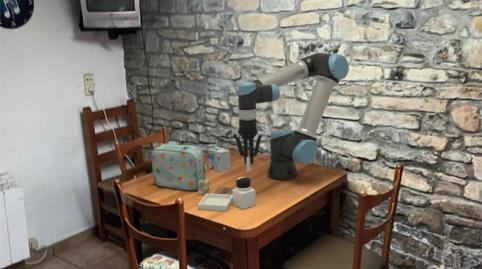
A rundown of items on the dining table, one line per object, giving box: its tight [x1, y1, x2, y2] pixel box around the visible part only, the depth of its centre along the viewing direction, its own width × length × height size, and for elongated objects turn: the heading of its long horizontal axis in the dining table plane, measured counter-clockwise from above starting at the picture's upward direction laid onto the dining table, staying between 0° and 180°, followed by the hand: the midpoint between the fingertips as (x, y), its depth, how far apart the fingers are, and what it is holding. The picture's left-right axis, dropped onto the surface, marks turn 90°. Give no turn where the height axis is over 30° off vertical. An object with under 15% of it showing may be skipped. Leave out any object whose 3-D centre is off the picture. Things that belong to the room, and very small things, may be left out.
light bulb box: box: [207, 146, 231, 173], centre depth 241 cm, size 11×7×11 cm, turn 42°
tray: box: [197, 192, 233, 212], centre depth 193 cm, size 13×13×2 cm
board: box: [213, 186, 236, 195], centre depth 204 cm, size 10×8×2 cm
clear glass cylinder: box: [197, 179, 210, 196], centre depth 206 cm, size 4×4×6 cm
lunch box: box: [151, 142, 207, 191], centre depth 215 cm, size 27×10×21 cm, turn 66°
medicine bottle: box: [232, 176, 257, 210], centre depth 191 cm, size 7×7×12 cm
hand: (249, 170), depth 199 cm, fingers closed
